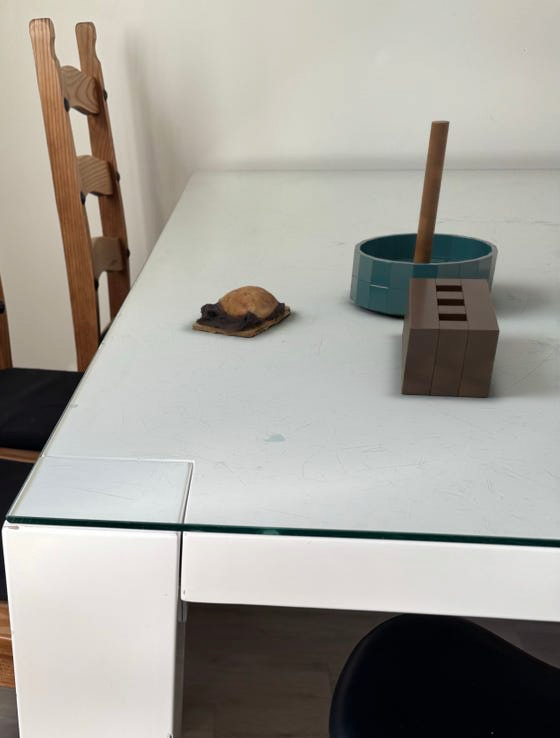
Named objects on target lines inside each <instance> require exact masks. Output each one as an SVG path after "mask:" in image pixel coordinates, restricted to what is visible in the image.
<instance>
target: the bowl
mask: <svg viewBox="0 0 560 738" xmlns="http://www.w3.org/2000/svg"><path fill="white" fill-rule="evenodd" d="M416 239H417V232H408V233H407V232H405V233H391V234H385V235H379V236H374V237H370V238H367V239H366V238H365V239H362V240H361V241H359V242H357V243H356V244H355V245H354V249H353V250H354V251H353V259H352V260H353V261H352V269H351V280H350V291H349V299H350V300H351V301H352V302H353V303H354V304H355V305H357V306H360V307H362V308H364V309H367V310H371V311H373V312H377V313H379V314H382V315H383V314H384V315H389V316H395V317H402V318H404V316H405V309H406V301H407V293H408V285H409V279H410V278H427V279H487V283H488V287H489V291H490V295H492V288H493V284H494V283H493V282H494V276H495V270H496V266H497V260H498V259H497V258H498V254H499V250H498V247H497V245H495V244H494V243H492V242H490V241H488V240H485V239H481V238H479V237H478V238H477V237H473V236H470V235H469V236H468V235H463V234H462V235H461V234H454V233H441V232H434V239H433V246H432V253H431V261H430V263H413V262H414V255H415V247H416Z"/></svg>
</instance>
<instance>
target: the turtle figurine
mask: <svg viewBox="0 0 560 738" xmlns="http://www.w3.org/2000/svg"><path fill="white" fill-rule="evenodd" d="M217 300H218V301H217V302H215V303H205V304H204V305H202V306H201V307H200V313H201V316H200V318H198V319H196V321H195V322H194V323H193V324H192V326H191V327H192V328H191V329H194V330H196V331H198V332H199V331H204V332H208V333H211V334H216V333H220V334H223V335H225V336H230V335H231V336H237V337H245V338H252V337H253V336H256V335H259V334H260V333H261V332H263V331H264V330H268V328H269V327H270V326H272V325H276V324H277V323H279V322H280V321H281V320H282V319H285V318H286V317H287V316H288V315H290V314H291V313H292V310H291V307H290V306H289V305H286V303H285V302H280V301H279V300H278V299H277V297H275V295H273V294H272V292H269V291H268V290H267V289H266V288H263V287H260V286H257V285H245V286H240V287H238V288H235V289H232V290H230V291H229V292H227V293H226V294H224V295H223V296H222V297H220V298H219V299H217Z"/></svg>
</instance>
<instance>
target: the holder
mask: <svg viewBox="0 0 560 738" xmlns="http://www.w3.org/2000/svg"><path fill="white" fill-rule="evenodd" d="M500 331H501V330H500V326H499V323H498V318H497V314H496V311H495V307H494V302H493V299H492V294H490V291H489V287H488V283H487V279H427V278H410V279H409V285H408V293H407V301H406V309H405V316H404V317H403V325H402V333H401V391H400V392H401V393H400V394H402V395H419V396H420V395H422V396H423V395H424V396H441V397H446V396H447V397H463V398H465V397H466V398H469V397H470V398H488V397H489V392H490V387H491V381H492V375H493V371H494V365H495V358H496V353H497V348H498V342H499V337H500Z"/></svg>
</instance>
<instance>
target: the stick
mask: <svg viewBox="0 0 560 738" xmlns="http://www.w3.org/2000/svg"><path fill="white" fill-rule="evenodd" d="M449 130H450V121H449V120H433V121H431V125H430V131H429V138H428V139H429V141H428V147H427V156H426V162H425V169H424V176H423V177H424V179H423V186H422V194H421V201H420V209H419V217H418V224H417V232H416V233H417V239H416V247H415V255H414V262H413V263H430V261H431V253H432V246H433V239H434V233H436V232H435V230H436V223H437V217H438V208H439V202H440V193H441V187H442V181H443V174H444V167H445V166H444V165H445V158H446V152H447V151H446V150H447V144H448V136H449Z"/></svg>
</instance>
